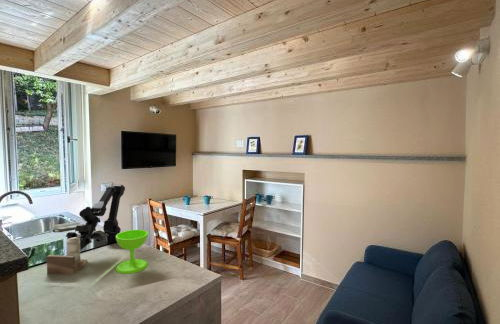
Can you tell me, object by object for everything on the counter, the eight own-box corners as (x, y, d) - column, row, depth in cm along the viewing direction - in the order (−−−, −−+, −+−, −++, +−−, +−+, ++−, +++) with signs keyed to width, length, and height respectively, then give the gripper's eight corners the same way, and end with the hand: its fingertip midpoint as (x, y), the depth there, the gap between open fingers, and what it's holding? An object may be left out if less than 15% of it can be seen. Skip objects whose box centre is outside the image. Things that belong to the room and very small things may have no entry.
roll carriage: (71, 261, 143) (71, 235, 142) (87, 261, 143) (87, 236, 142) (59, 268, 134) (58, 241, 133) (76, 269, 134) (75, 242, 133)
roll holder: (72, 259, 147) (72, 242, 147) (96, 260, 147) (96, 243, 146) (45, 276, 128) (45, 256, 128) (73, 277, 128) (72, 257, 128)
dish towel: (78, 223, 215) (78, 219, 215) (83, 228, 203) (83, 224, 202) (50, 227, 202) (50, 223, 202) (53, 233, 190) (53, 229, 189)
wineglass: (150, 269, 139) (150, 236, 138) (117, 276, 130) (117, 241, 129) (144, 258, 152) (145, 228, 151) (114, 263, 144) (114, 232, 143)
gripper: (67, 218, 146) (52, 244, 135) (100, 219, 145) (87, 245, 135) (77, 227, 154) (64, 253, 144) (108, 228, 154) (96, 254, 143)
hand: (77, 251), depth 141 cm, fingers closed, pressing on roll carriage
